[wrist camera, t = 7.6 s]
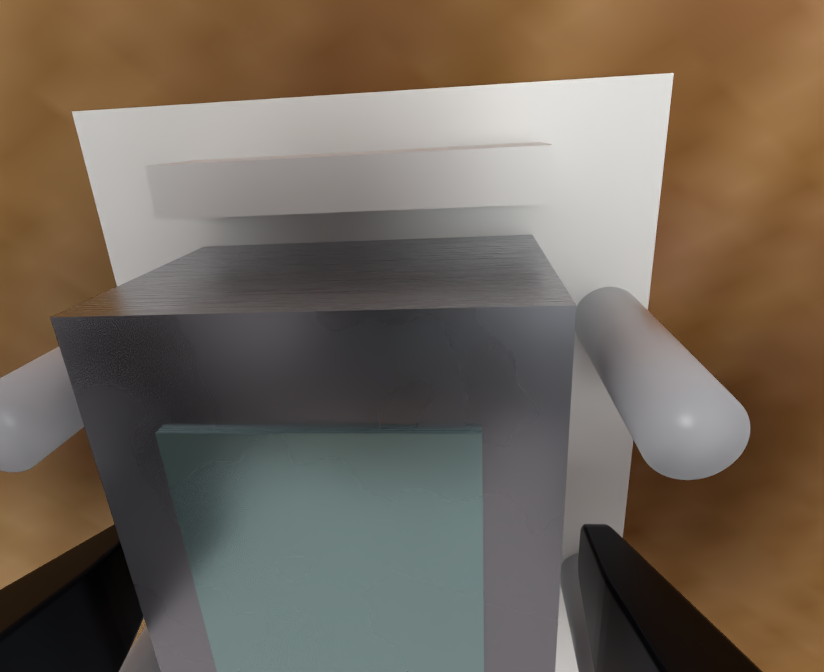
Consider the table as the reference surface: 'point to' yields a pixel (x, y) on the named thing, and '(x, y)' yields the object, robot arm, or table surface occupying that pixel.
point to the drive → (336, 452)
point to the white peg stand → (418, 219)
